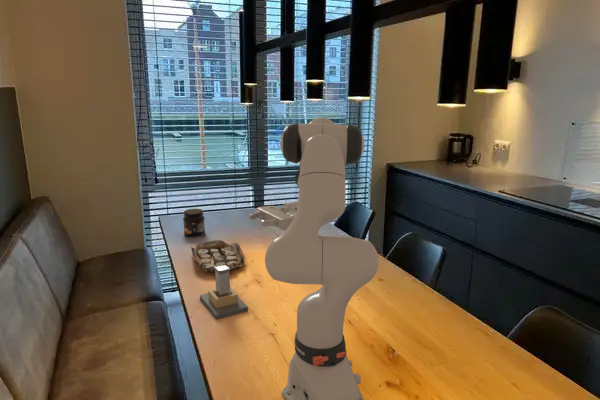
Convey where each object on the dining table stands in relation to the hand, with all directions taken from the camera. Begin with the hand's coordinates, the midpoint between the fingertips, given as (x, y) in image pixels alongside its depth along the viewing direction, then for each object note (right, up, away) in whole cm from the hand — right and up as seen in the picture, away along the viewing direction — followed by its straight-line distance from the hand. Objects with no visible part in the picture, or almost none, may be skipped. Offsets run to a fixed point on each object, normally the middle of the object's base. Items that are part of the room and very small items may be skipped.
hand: (255, 220), depth 147 cm
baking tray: (-20, -20, +37) cm, 47 cm away
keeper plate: (-11, -29, +1) cm, 31 cm away
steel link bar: (-11, -28, +1) cm, 30 cm away
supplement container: (-38, -11, +73) cm, 83 cm away
